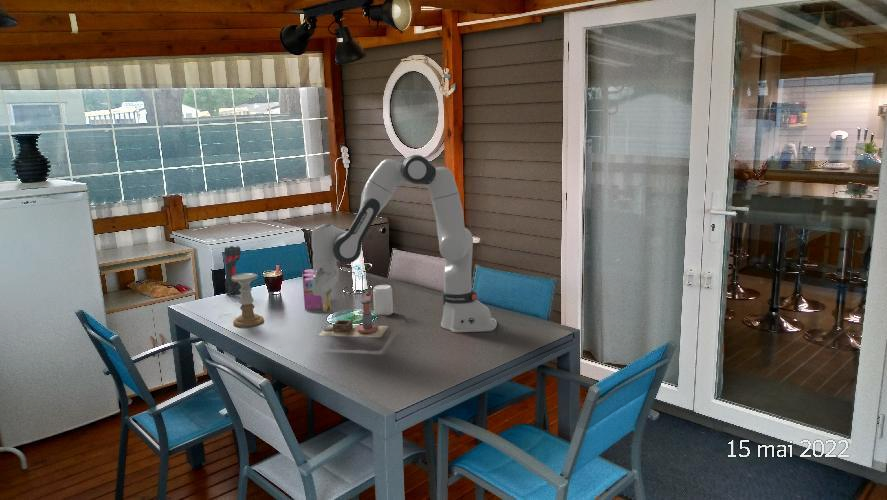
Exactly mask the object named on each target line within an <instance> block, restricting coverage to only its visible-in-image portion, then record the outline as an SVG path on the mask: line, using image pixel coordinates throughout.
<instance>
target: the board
mask: <svg viewBox="0 0 887 500" xmlns="http://www.w3.org/2000/svg"><path fill="white" fill-rule="evenodd" d="M362 325H363V324H361V325H359V324H353V328H352V329H351V330H350V331H349V332H348V333H340V332H333V331H324V330H322V331H320V332H319V333H318V335H317V336H321V337H324V336H325V337H326V336H327V337H355V338H357V337H358V338H359V337H360V338H382V336H383V335H384V334H385V332H386V331H387V329H388V328H389V327H390V325H377V326H378V330H377V331H376V332H373V333H360V332H358V331H357V328H358V327H359V326H362ZM326 327H333V324H331V323H330V324H328V325H327V326H326Z"/></svg>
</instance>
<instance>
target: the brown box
mask: <svg viewBox="0 0 887 500" xmlns="http://www.w3.org/2000/svg"><path fill="white" fill-rule="evenodd" d="M332 325H333V332H340V333H348V332H349V331H350V330H351V329H352V328H353V325H354V323H353V320H351V319H350V320H345V319H338V320H336V321H335V322H334V323H333V324H332Z"/></svg>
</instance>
